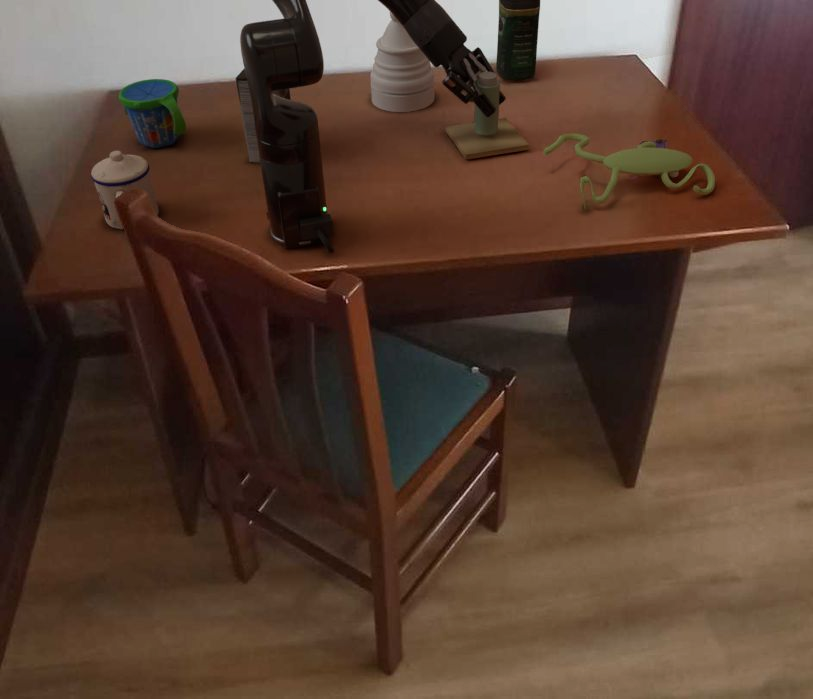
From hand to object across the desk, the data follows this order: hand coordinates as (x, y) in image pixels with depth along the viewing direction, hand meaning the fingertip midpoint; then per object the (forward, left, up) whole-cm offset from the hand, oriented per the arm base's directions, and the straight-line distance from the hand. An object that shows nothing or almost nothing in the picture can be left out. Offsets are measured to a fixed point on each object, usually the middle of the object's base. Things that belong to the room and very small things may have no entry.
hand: (496, 108), depth 156 cm
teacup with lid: (-7, +66, -7) cm, 67 cm away
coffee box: (+10, +40, -7) cm, 42 cm away
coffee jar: (+29, -15, -7) cm, 34 cm away
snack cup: (+22, +60, -7) cm, 64 cm away
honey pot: (+25, +11, -7) cm, 28 cm away
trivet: (+1, +1, -7) cm, 7 cm away
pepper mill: (+1, +1, -5) cm, 5 cm away
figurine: (-20, -16, -7) cm, 27 cm away
